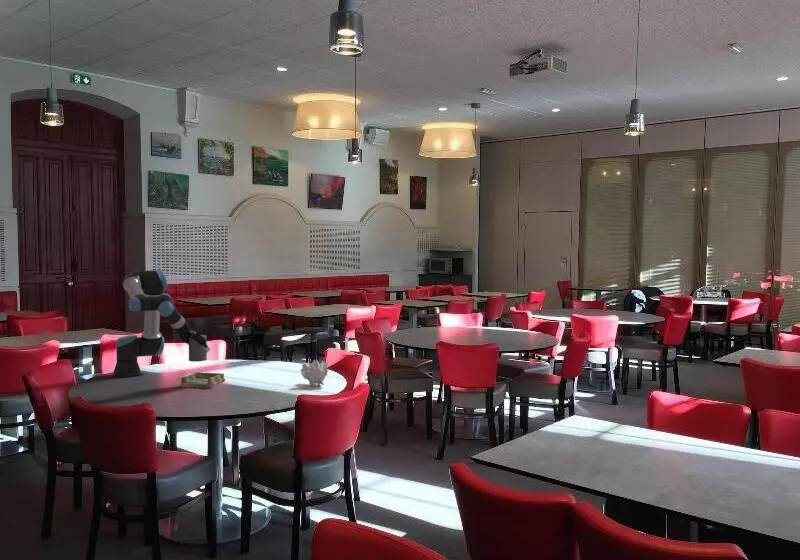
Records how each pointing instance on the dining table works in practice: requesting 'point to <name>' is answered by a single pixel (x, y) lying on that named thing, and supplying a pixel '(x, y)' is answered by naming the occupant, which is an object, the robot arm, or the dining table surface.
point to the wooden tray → (202, 380)
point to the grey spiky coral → (314, 372)
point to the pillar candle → (197, 350)
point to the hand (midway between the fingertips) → (202, 349)
